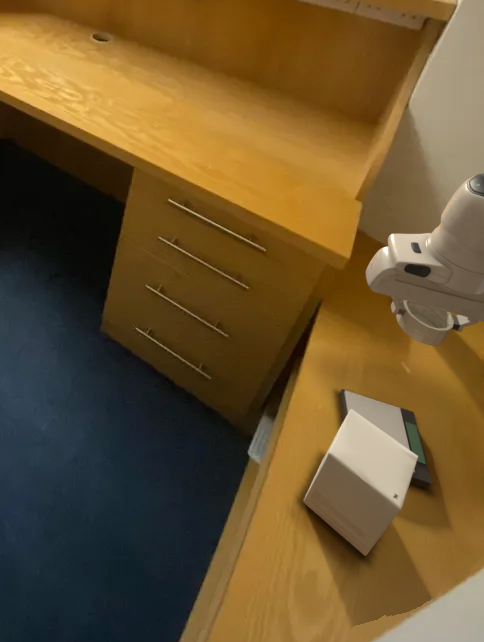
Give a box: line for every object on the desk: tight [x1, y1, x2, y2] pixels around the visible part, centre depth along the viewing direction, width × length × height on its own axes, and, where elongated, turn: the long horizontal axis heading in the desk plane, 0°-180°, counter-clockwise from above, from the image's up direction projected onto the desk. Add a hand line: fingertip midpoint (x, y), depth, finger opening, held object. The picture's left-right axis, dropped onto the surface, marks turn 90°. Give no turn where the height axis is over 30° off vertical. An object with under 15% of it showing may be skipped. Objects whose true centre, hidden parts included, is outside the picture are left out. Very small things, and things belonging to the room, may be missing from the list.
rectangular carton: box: [303, 409, 418, 557], centre depth 74 cm, size 9×9×15 cm
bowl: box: [395, 300, 454, 346], centre depth 86 cm, size 7×7×4 cm
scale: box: [338, 388, 433, 490], centre depth 84 cm, size 11×11×3 cm
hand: (424, 318), depth 85 cm, fingers closed on bowl, 7 cm apart
